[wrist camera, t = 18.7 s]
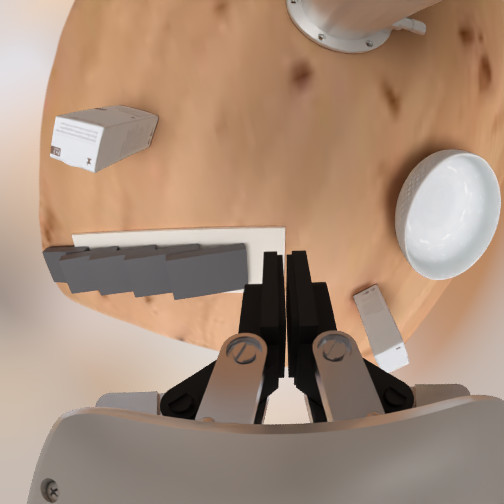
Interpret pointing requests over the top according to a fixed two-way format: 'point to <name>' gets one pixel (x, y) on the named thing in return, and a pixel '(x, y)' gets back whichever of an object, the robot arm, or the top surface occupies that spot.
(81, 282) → the domino
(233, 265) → the domino
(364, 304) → the skincare box
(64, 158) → the skincare box
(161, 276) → the domino
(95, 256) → the domino
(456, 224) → the cereal bowl
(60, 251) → the domino
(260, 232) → the board
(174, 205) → the top surface
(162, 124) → the top surface
